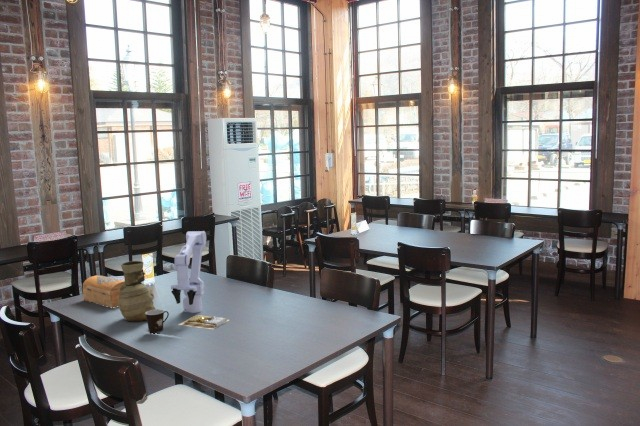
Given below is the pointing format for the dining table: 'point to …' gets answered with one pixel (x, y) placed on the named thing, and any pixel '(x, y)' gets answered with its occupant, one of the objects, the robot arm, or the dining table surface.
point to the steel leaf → (215, 321)
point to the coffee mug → (155, 320)
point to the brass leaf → (197, 319)
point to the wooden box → (102, 290)
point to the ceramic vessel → (135, 293)
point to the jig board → (200, 324)
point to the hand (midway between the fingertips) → (184, 303)
